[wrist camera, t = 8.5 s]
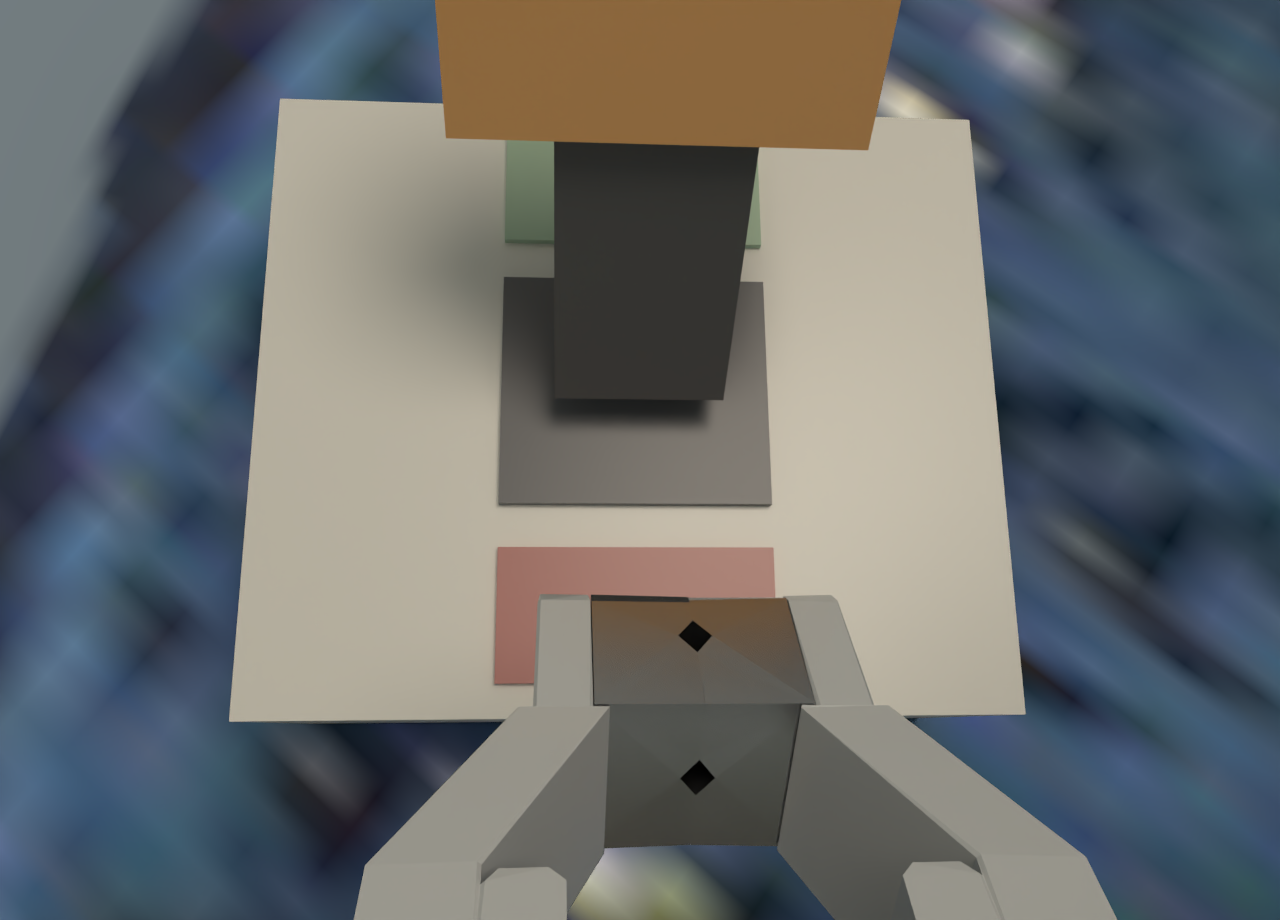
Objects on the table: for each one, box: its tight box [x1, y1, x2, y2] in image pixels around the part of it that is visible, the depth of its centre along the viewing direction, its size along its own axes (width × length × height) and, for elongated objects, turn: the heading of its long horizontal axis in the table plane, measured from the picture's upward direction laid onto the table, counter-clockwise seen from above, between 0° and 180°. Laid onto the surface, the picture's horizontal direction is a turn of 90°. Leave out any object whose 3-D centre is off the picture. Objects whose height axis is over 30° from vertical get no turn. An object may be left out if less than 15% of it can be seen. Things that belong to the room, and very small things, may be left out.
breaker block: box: [229, 99, 1026, 724], centre depth 23 cm, size 12×14×6 cm
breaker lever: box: [435, 0, 901, 400], centre depth 16 cm, size 2×6×9 cm
